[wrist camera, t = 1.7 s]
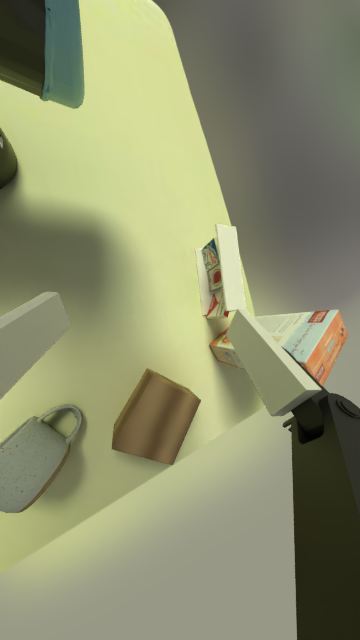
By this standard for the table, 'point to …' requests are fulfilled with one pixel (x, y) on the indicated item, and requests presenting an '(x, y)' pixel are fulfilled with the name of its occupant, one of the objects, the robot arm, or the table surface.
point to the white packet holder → (220, 274)
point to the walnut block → (155, 419)
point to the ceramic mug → (32, 460)
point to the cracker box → (297, 340)
